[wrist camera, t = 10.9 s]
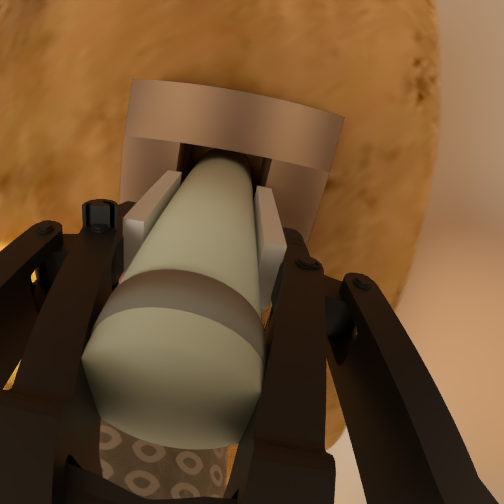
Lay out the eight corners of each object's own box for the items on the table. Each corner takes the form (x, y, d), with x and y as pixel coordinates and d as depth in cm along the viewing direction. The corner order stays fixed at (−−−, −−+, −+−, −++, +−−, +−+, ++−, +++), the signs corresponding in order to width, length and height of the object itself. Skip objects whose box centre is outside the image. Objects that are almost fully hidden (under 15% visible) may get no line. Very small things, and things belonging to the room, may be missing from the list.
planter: (237, 330, 29) (234, 517, 13) (224, 422, 38) (220, 539, 22) (62, 304, 28) (-15, 443, 12) (97, 401, 36) (67, 506, 21)
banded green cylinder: (190, 196, 22) (92, 428, 6) (199, 141, 20) (53, 315, 4) (245, 205, 22) (248, 457, 6) (257, 152, 20) (298, 361, 5)
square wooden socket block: (139, 232, 24) (118, 263, 19) (156, 82, 18) (132, 78, 14) (283, 257, 25) (291, 293, 21) (323, 112, 20) (344, 117, 15)
